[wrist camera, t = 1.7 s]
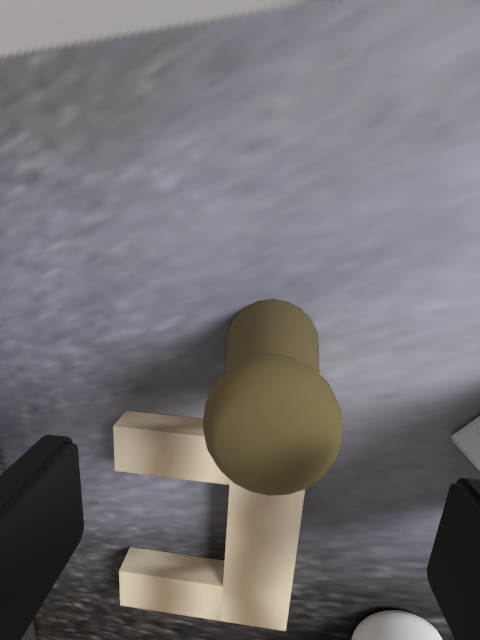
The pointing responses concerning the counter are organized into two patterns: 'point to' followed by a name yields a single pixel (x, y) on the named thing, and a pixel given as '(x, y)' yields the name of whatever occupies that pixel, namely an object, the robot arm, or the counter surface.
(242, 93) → the counter surface
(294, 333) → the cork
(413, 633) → the water bottle
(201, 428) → the wooden u-shaped block
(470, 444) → the skincare box
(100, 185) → the counter surface
